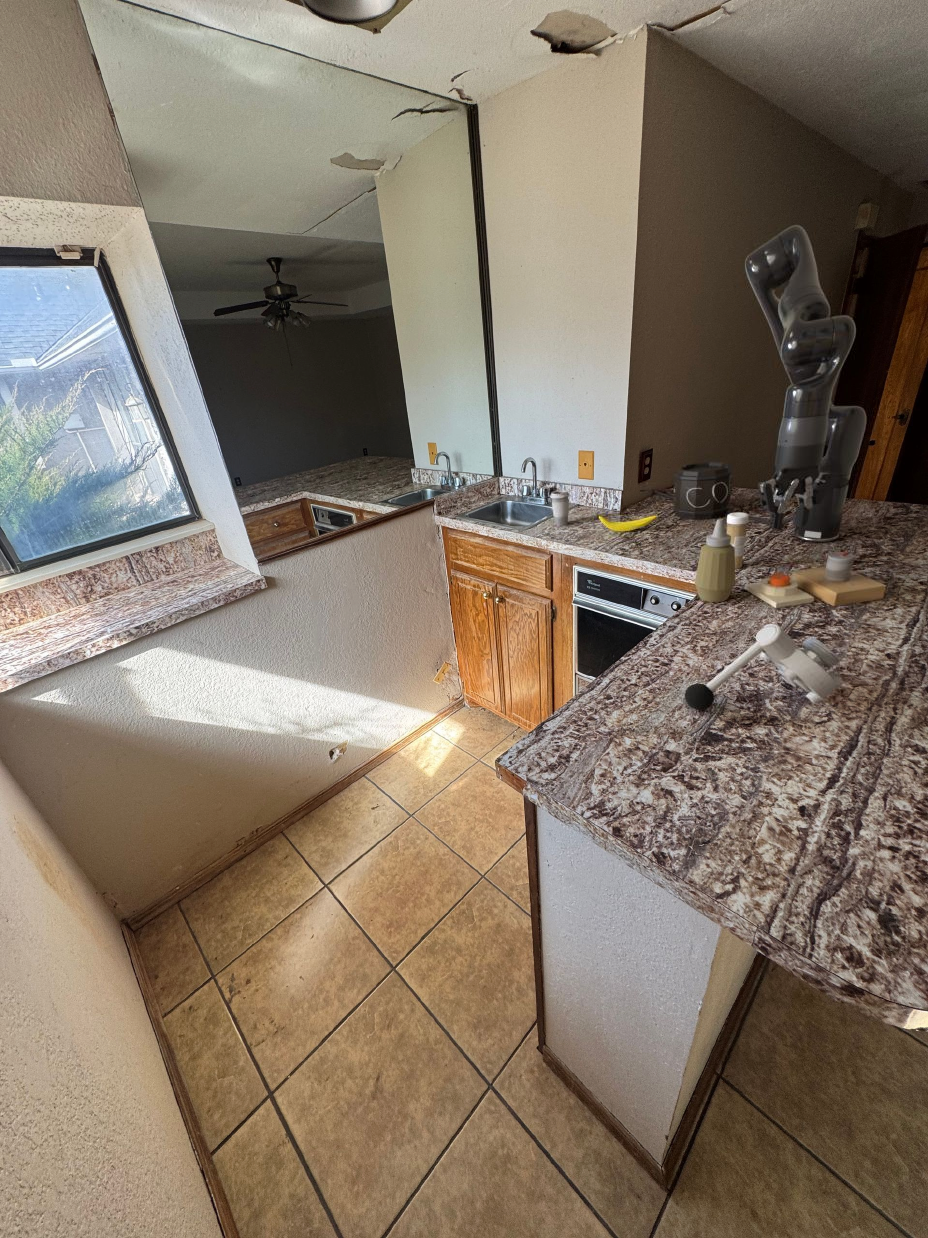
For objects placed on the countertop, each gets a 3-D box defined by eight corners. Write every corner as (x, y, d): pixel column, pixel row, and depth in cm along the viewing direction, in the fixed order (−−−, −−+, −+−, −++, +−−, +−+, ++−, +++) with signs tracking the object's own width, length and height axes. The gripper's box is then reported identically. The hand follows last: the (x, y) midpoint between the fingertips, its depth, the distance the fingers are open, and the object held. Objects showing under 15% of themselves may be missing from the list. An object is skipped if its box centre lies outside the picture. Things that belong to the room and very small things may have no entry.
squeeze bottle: (731, 590, 110) (739, 513, 102) (736, 605, 103) (745, 524, 95) (692, 590, 113) (697, 515, 105) (695, 605, 106) (700, 526, 98)
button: (765, 582, 105) (766, 575, 104) (781, 579, 105) (782, 572, 104) (776, 588, 102) (777, 581, 101) (792, 585, 102) (794, 578, 101)
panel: (790, 583, 109) (792, 570, 107) (833, 576, 109) (836, 563, 107) (833, 606, 97) (836, 592, 96) (882, 599, 97) (886, 584, 95)
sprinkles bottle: (719, 564, 124) (723, 513, 118) (737, 562, 124) (742, 510, 118) (727, 570, 120) (733, 517, 114) (746, 568, 119) (752, 515, 114)
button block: (744, 588, 110) (745, 576, 108) (778, 583, 110) (780, 571, 108) (775, 608, 100) (777, 595, 98) (813, 602, 100) (815, 589, 98)
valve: (722, 731, 83) (667, 681, 80) (820, 653, 78) (765, 596, 74) (757, 770, 74) (695, 716, 70) (870, 684, 68) (810, 621, 65)
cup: (573, 522, 177) (572, 489, 172) (567, 527, 173) (565, 494, 167) (555, 521, 181) (554, 489, 176) (548, 526, 176) (546, 494, 171)
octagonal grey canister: (742, 515, 156) (747, 466, 149) (686, 523, 157) (688, 474, 151) (716, 503, 172) (720, 458, 165) (666, 510, 174) (667, 466, 167)
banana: (657, 531, 154) (658, 512, 151) (596, 534, 161) (596, 515, 158) (657, 528, 157) (657, 509, 154) (597, 531, 163) (597, 513, 160)
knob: (840, 583, 99) (846, 559, 97) (819, 577, 103) (823, 554, 100) (854, 577, 100) (860, 553, 98) (832, 572, 104) (837, 549, 102)
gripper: (776, 448, 87) (764, 538, 95) (854, 436, 87) (836, 527, 95) (752, 444, 94) (742, 528, 101) (823, 433, 94) (809, 518, 101)
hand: (787, 527), depth 98 cm, fingers open, 4 cm apart
